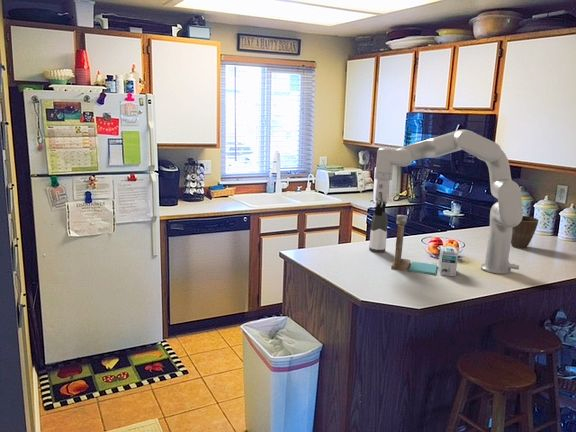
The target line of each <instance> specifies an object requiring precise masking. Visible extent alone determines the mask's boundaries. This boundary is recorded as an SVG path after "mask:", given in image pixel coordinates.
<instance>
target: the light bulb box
mask: <svg viewBox="0 0 576 432" xmlns="http://www.w3.org/2000/svg"><path fill="white" fill-rule="evenodd" d="M439 246H440V247H439V250H440V251H439V258H438V266H437V268H438V272H439V275H440V276H451V277H456V276H457V266H458V265H457V264H458V258H459V251H457V248H456V247H455V246H449V245H439Z"/></svg>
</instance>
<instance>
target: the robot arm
mask: <svg viewBox="0 0 576 432" xmlns="http://www.w3.org/2000/svg"><path fill="white" fill-rule="evenodd" d="M462 150H463V151H464V152H466V153H468V154H470V155H472V156H474V157H476V159H478V160H480V161H483V162H484V163H486V166H487V168H488V173H489V185H490V193H491V196H493V197H494V198H495V199H497V201H496V202H495V203H493V205H492V206H491V208H490V213H489V233H488V237H487V238H488V239H487V247H486V252H485V254H486V255H485V260H484V263H482V264H481V265H480V268H481V270H482V271H485V272H487V273H492V274H496V275H497V274H498V275H508V274H510V273H511V271H512V270H520V264H518V265H517V264H516V263H510V261H509V260H510V259H509V258H510V251H511V246H512V245H511V238H512V227H515V226H517V225H518V224H519V223H520V222H521V220H522V217H523V216H524V215H523V198H522V189H521V188H520V186H519V184H518V183H517V182H516V181H514V180H513V179H512V176H511V168H510V167H511V166H510V162H509V159H508V157H507V154H506V153H505V152H504V151H503V150H502V148H501V146H500V145H499V144H498V143H497V142H495V141H493V140H492V139H491V140H490V139H488V138H487V137H484V136H482V135H480V134H478V133H475V132H474V131H471V130H468V129H458V130H454V131H451V132H448V133H444V134H442V135H439V136H435V137H431V138H428V139H426V140H422V141H418V142H414V143H410V144H408V145H405V146H401V147H399V148H397V149H392V148H390V147H389V148H388V147H380V148H378V149H377V151H376V152H377V153H376V163H375V174H374V179H375V180H376V185H375V186H376V187H375V188H376V189H375V197H374V198H375V202H376V203H375V206H374V213H375V215H377V216H382V212H386V208H387V207H386V205H387V202H388V201H389V198H390V188H391V187H390V186H391V185H390V184H391V182H390V181H392V180H393V173H394V172H393V171H394V166H397V167H408V166H410V165H412V163H413V161H416V160H420V159H428V158H429V159H431V158H432V159H433V158H439V157H442V156H445V155H448V154H451V153H455V152H458V151H462ZM511 269H512V270H511Z"/></svg>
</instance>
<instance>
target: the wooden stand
mask: <svg viewBox="0 0 576 432" xmlns="http://www.w3.org/2000/svg"><path fill="white" fill-rule="evenodd" d="M407 219H408V216H407V215H406V214H405V215H404V214H397V215H396V223H395V224H396V225H397V229H396V237H395V238H396V241H395V249H394V251H395V252H394V253H395V254H394V259H393V262H392V263H391V267H390V268H391V269H393V270H398V271H405V272H407V271H409V270H408V269H409V266H410V265H411V259H407V258H402V255H403V254H402V253H403V246H404V245H403V244H404V233H405V232H404V231H405V226H406V225H407V223H408V221H407Z"/></svg>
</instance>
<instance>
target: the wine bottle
mask: <svg viewBox="0 0 576 432" xmlns="http://www.w3.org/2000/svg"><path fill="white" fill-rule="evenodd" d="M388 223H389V220H388V215H387V212H386V211H385V212H382V216H377V215H375V212H374V213H373V215H372V217H371V221H370V232H369V233H370V234H369V236H370V237H369V245H368V250H369V251H370V252H372V253H379V254H380V253H384V252H386V247H387V237H388Z"/></svg>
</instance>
